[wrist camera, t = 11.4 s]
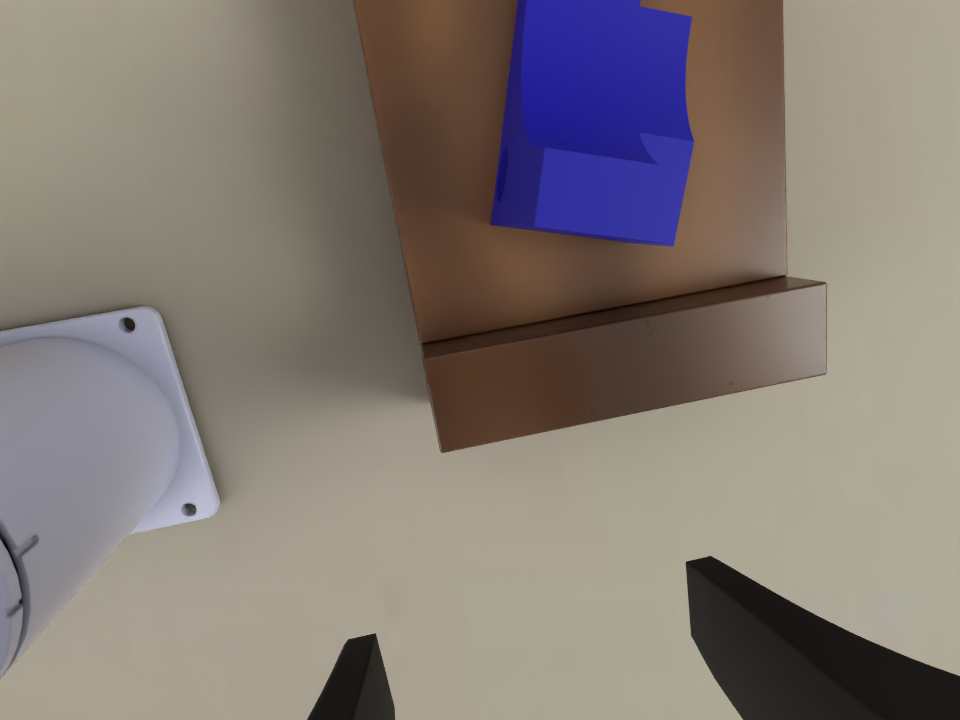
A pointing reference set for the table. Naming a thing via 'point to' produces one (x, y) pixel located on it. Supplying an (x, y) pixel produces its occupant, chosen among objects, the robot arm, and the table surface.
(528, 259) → the step shelf
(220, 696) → the table surface
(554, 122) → the blue curved notched block
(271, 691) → the table surface
